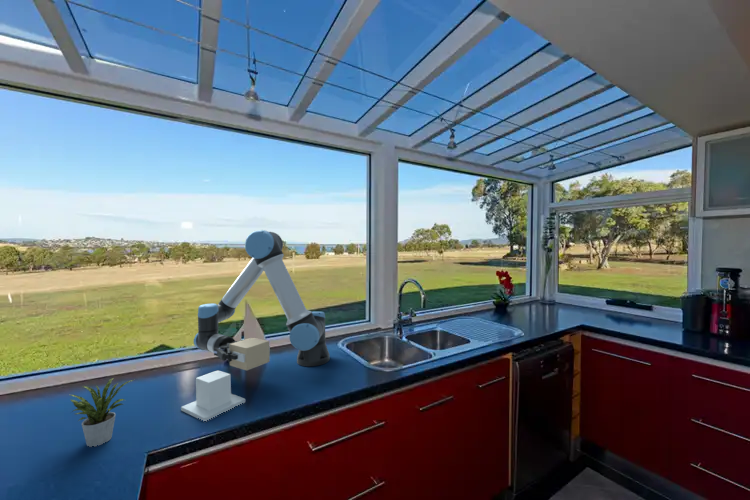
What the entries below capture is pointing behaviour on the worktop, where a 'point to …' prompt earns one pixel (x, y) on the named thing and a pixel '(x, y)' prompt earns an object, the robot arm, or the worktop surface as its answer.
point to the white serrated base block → (212, 396)
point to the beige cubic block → (251, 353)
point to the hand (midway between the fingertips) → (257, 353)
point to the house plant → (98, 415)
